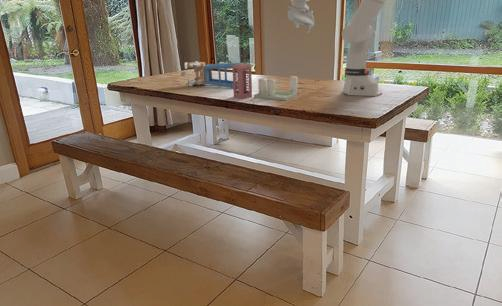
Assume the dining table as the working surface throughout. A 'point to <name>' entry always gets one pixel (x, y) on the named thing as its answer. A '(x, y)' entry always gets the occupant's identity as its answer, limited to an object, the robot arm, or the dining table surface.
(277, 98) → the tray
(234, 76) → the miniature model
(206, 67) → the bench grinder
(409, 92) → the dining table surface
